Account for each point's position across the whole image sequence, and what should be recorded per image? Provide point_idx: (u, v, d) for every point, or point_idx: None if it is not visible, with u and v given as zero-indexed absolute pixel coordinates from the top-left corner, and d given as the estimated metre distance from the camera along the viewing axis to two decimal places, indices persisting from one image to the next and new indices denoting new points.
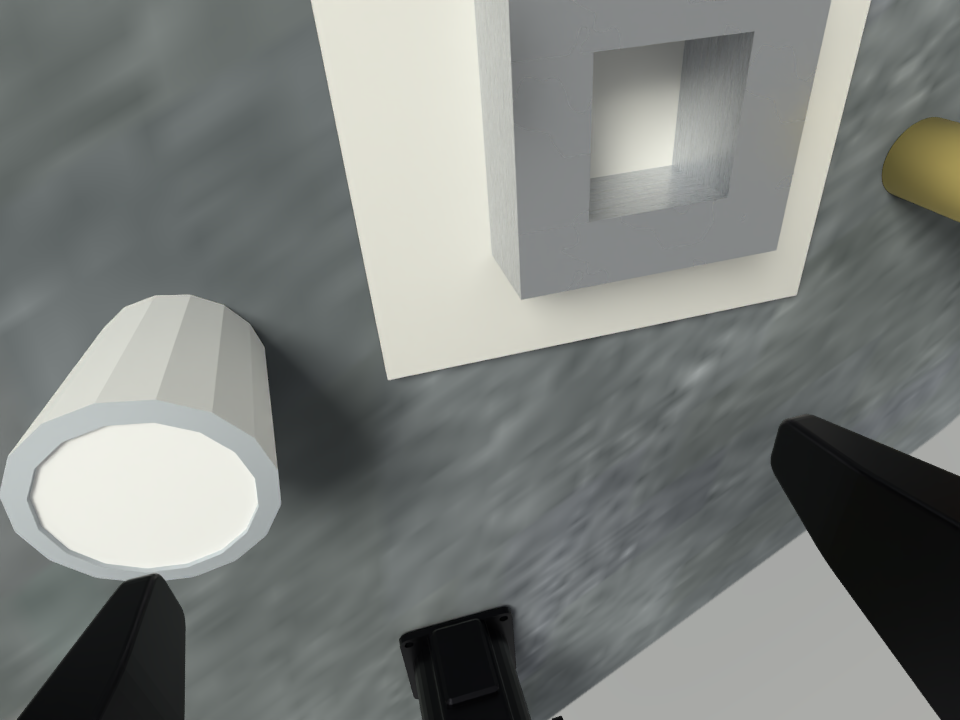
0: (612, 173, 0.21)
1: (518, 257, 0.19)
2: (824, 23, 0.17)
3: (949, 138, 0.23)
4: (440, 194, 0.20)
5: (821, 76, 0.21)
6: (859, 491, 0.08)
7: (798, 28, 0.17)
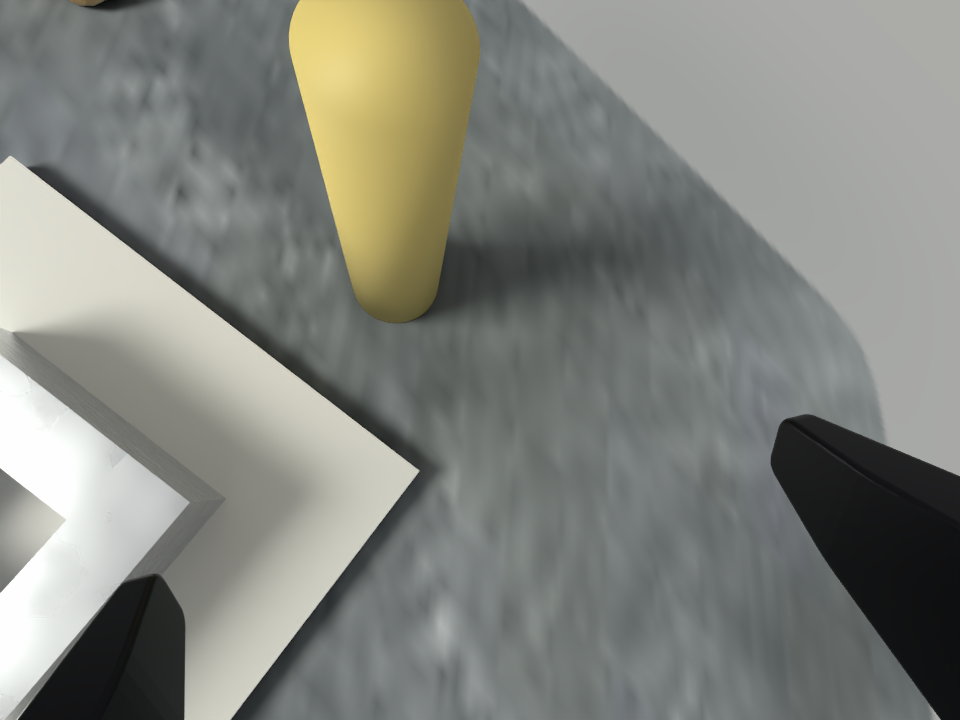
0: None
1: None
2: None
3: None
4: None
5: (188, 340, 0.21)
6: (859, 491, 0.08)
7: None
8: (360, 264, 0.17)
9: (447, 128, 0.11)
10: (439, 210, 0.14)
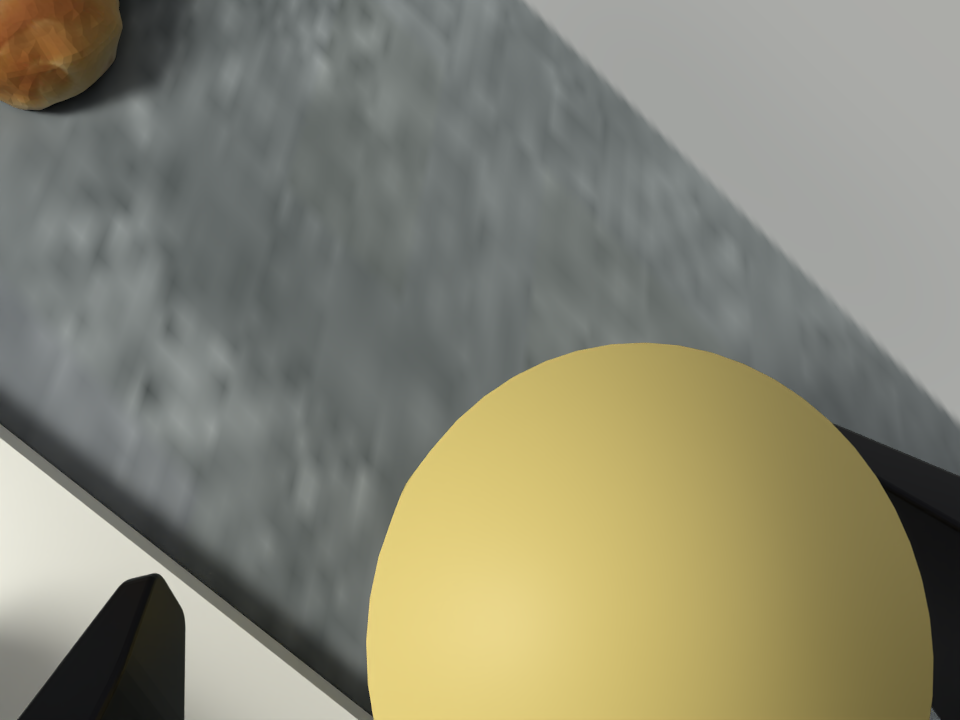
0: None
1: None
2: None
3: None
4: None
5: None
6: None
7: None
8: None
9: None
10: None
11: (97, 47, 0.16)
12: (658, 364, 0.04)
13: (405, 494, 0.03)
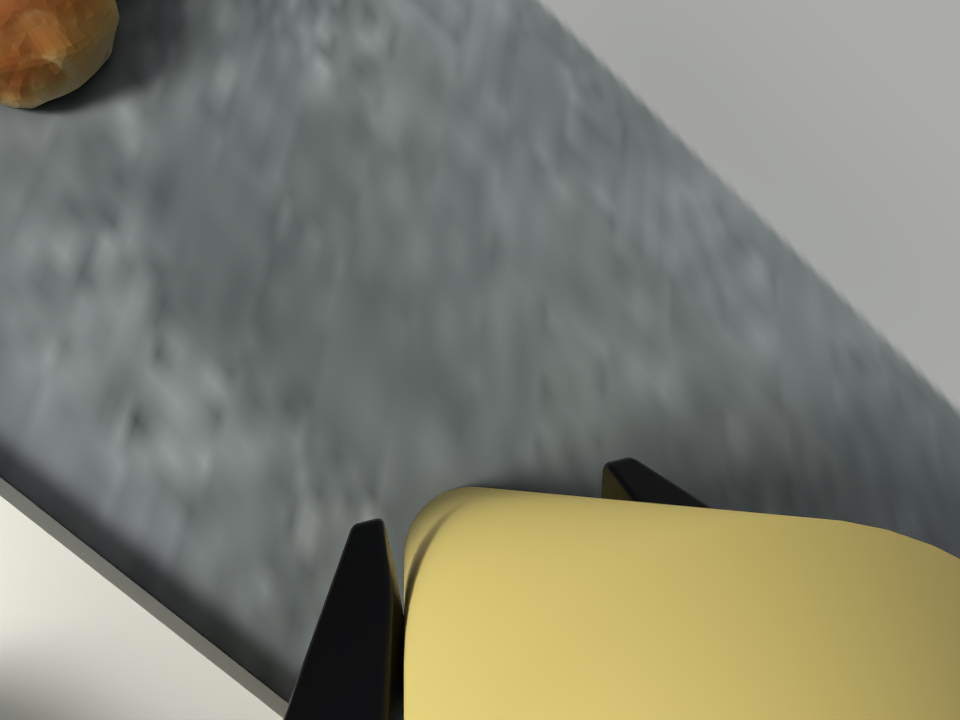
0: None
1: None
2: None
3: (404, 558, 0.13)
4: None
5: (142, 694, 0.13)
6: None
7: None
8: None
9: None
10: None
11: (93, 40, 0.15)
12: (815, 551, 0.03)
13: None
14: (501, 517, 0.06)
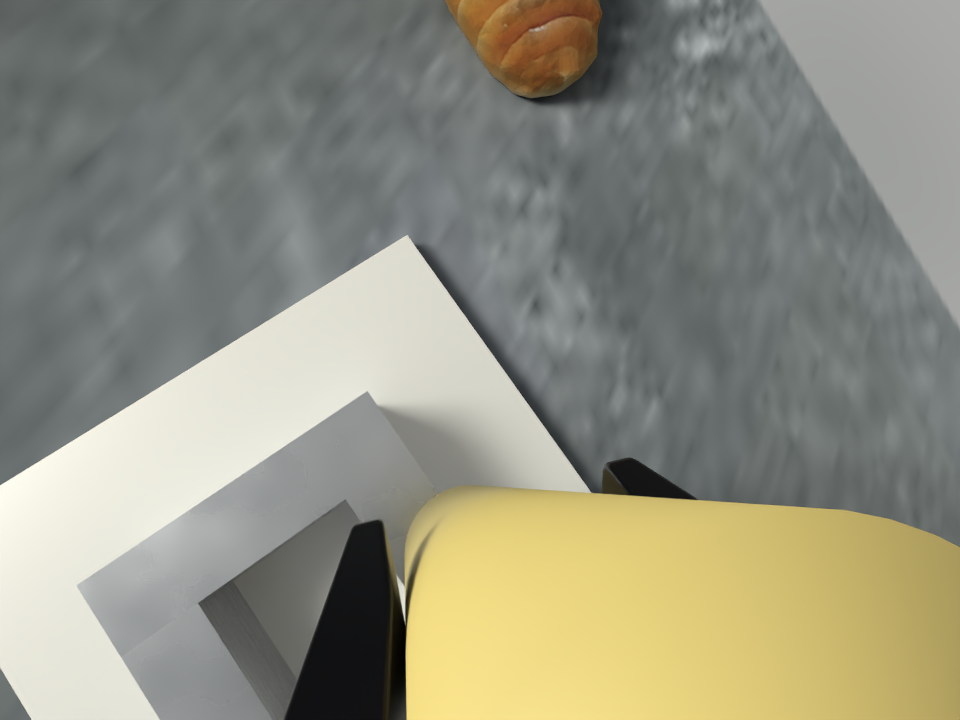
0: None
1: None
2: (409, 455, 0.18)
3: None
4: None
5: (523, 457, 0.22)
6: None
7: (386, 472, 0.18)
8: None
9: None
10: None
11: (586, 69, 0.24)
12: (818, 539, 0.03)
13: None
14: (503, 512, 0.06)
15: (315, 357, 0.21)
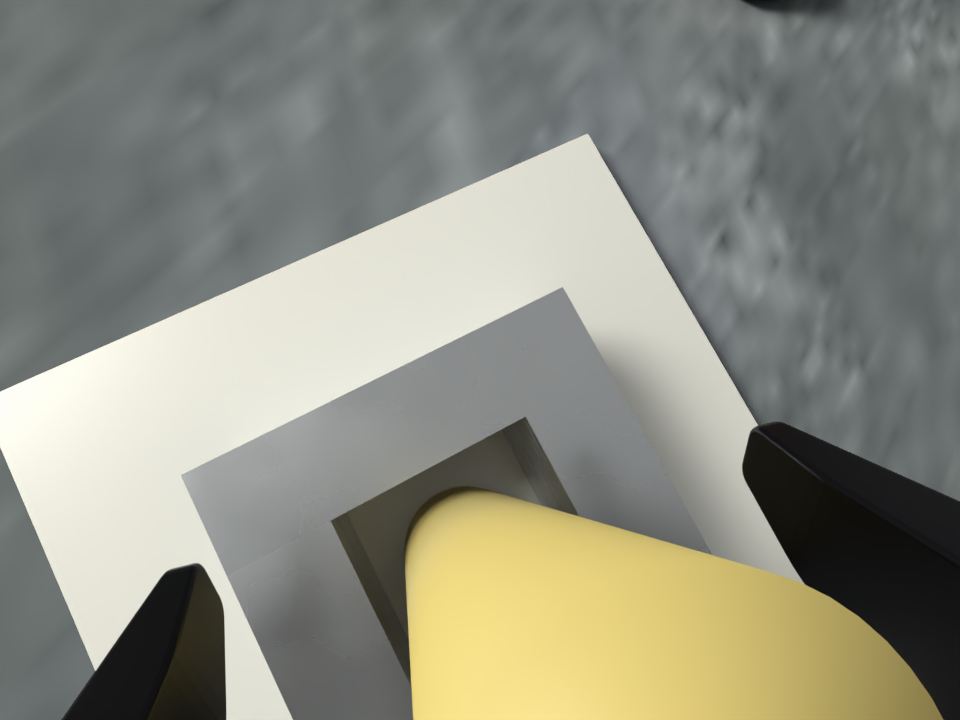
0: None
1: None
2: (608, 373, 0.14)
3: (405, 554, 0.14)
4: None
5: (704, 413, 0.18)
6: (825, 500, 0.08)
7: (579, 391, 0.14)
8: None
9: None
10: None
11: None
12: (713, 587, 0.04)
13: None
14: (493, 533, 0.07)
15: (468, 259, 0.18)
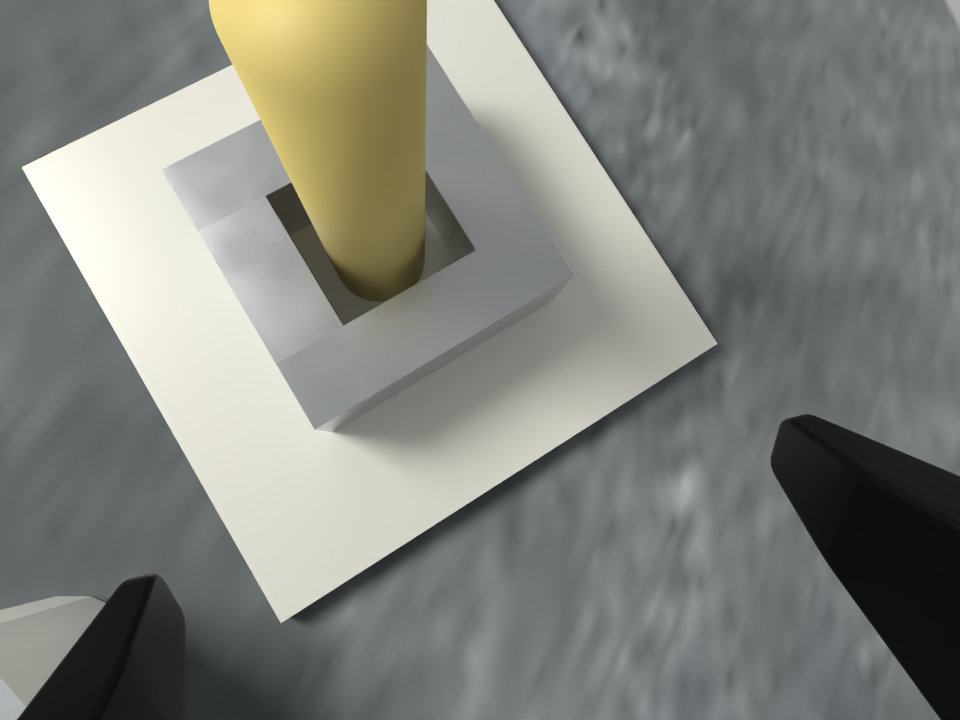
0: None
1: (290, 387, 0.18)
2: (457, 96, 0.19)
3: None
4: (254, 394, 0.21)
5: (559, 158, 0.23)
6: (859, 491, 0.08)
7: (436, 108, 0.19)
8: (333, 245, 0.16)
9: (397, 90, 0.10)
10: (407, 182, 0.13)
11: None
12: None
13: None
14: None
15: None
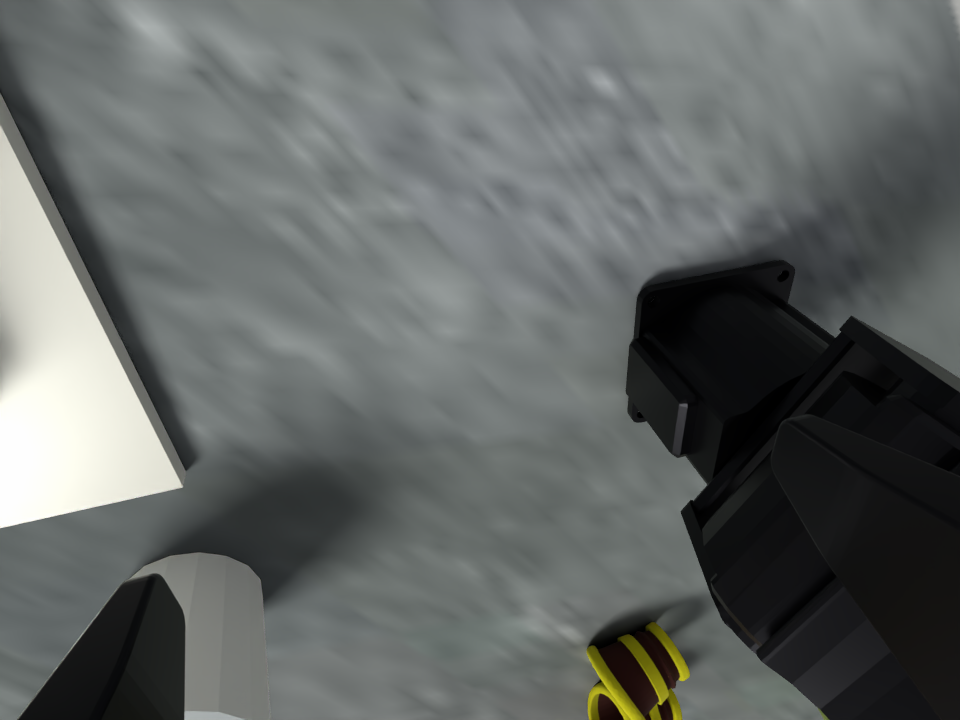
0: None
1: None
2: None
3: None
4: None
5: None
6: (859, 491, 0.08)
7: None
8: None
9: None
10: None
11: None
12: None
13: None
14: None
15: None
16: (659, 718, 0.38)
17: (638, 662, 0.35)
